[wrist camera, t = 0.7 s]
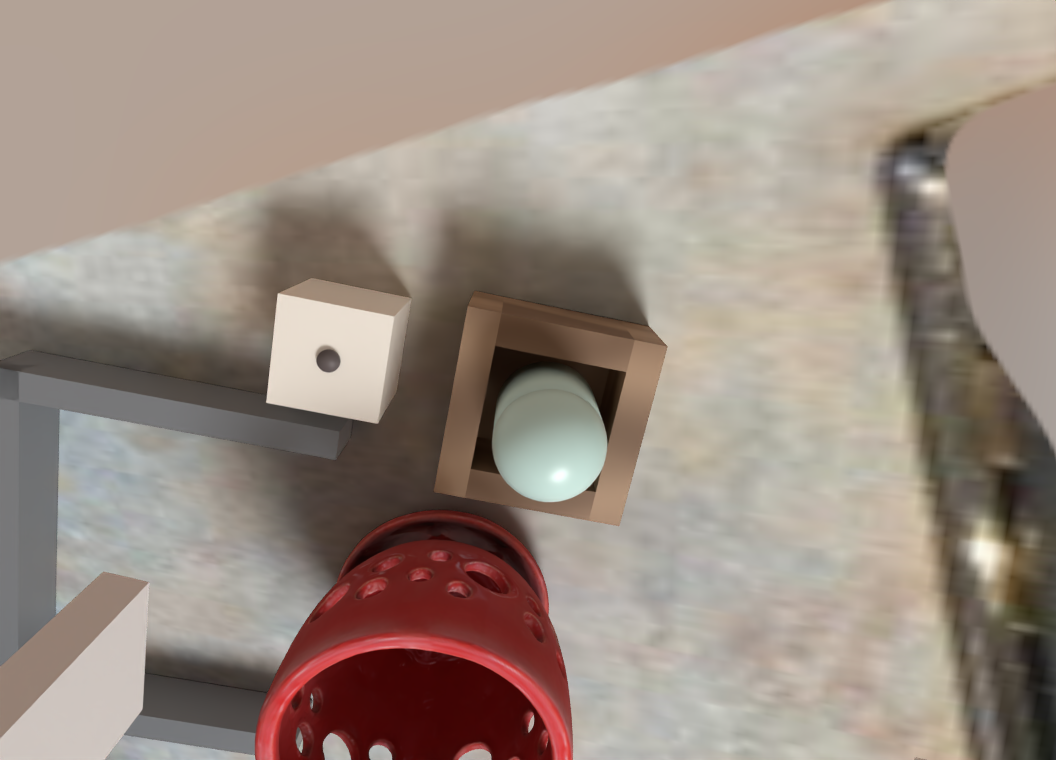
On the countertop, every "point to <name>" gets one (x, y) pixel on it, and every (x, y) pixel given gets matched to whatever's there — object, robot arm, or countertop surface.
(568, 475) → the dome button
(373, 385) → the cream cube with hole
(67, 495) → the countertop surface
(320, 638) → the plant pot
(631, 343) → the button box
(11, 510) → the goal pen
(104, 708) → the robot arm
